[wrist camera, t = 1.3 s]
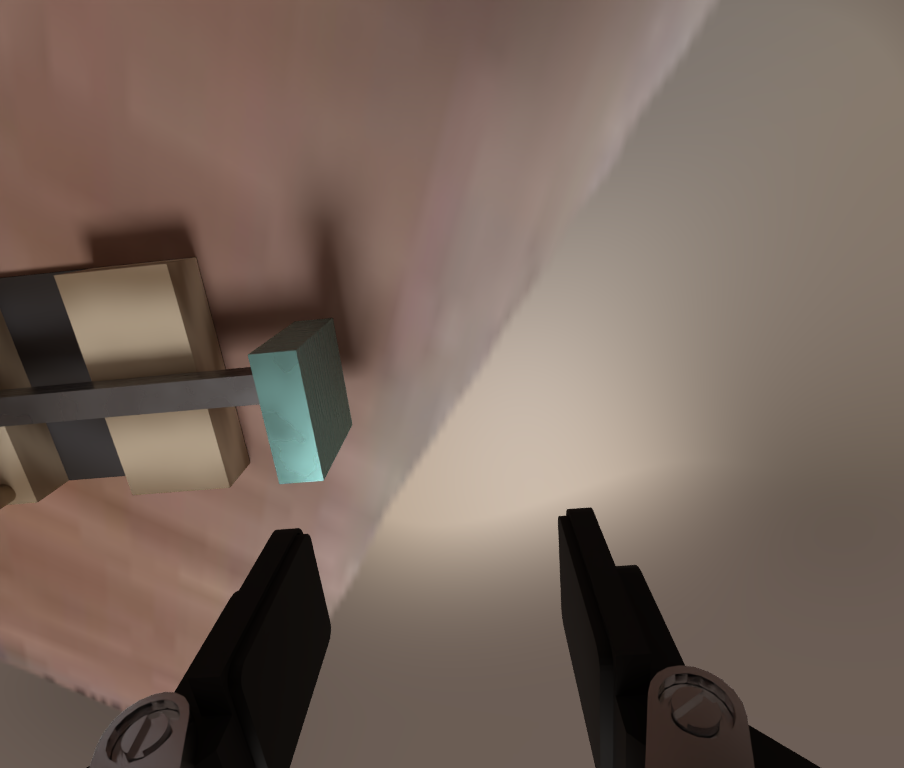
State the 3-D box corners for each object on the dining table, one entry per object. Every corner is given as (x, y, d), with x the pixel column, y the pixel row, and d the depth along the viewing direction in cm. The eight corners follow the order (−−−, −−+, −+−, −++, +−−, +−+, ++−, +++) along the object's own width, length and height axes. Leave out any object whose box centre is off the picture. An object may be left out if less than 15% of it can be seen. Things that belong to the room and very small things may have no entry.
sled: (-239, 349, 28) (-419, 387, 22) (328, 292, 26) (289, 318, 20) (-160, 487, 31) (-301, 552, 25) (356, 445, 29) (328, 505, 23)
